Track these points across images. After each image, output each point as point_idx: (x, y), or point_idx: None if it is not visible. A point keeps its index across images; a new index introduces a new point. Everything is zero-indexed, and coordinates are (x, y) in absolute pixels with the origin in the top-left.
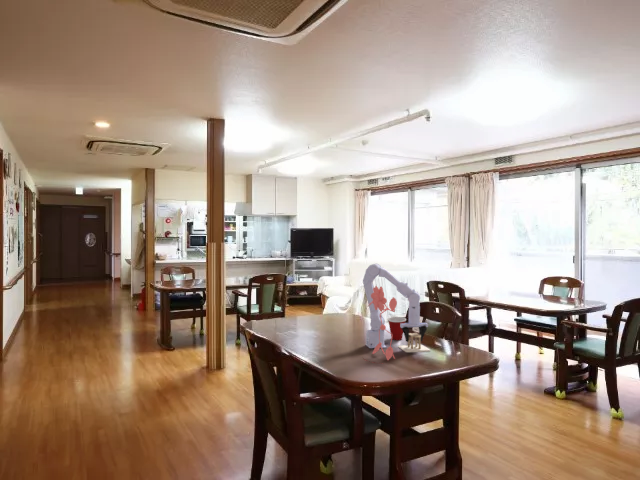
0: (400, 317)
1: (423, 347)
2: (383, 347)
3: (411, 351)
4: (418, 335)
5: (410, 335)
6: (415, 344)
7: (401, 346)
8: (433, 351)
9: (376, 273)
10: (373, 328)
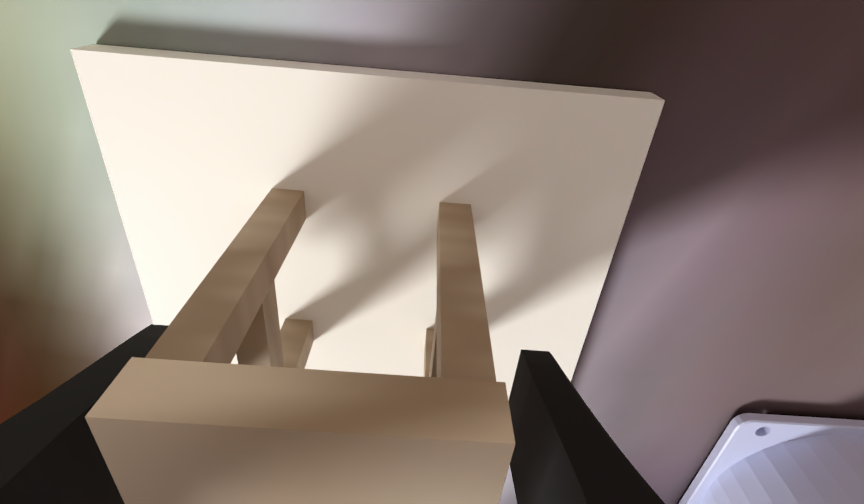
0: None
1: (186, 254)
2: (792, 416)
3: (535, 87)
4: (201, 419)
5: (498, 485)
6: (304, 363)
7: None
8: (17, 18)
9: None
10: None
